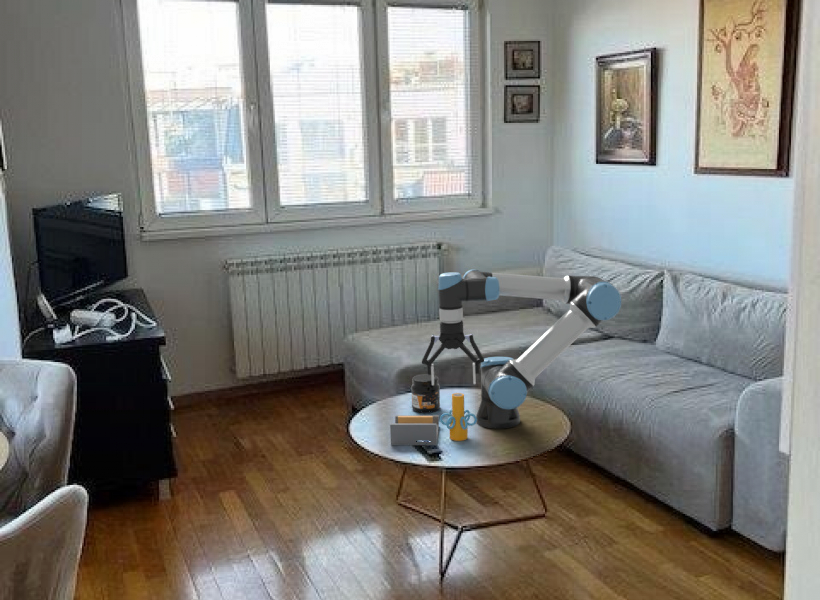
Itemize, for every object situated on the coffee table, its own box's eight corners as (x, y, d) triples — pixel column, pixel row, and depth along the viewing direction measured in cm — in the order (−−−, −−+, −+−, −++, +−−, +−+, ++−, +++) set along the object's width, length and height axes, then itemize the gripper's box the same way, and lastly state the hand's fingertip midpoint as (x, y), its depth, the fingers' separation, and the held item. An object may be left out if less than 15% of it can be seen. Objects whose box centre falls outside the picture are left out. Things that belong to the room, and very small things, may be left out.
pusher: (433, 432, 284) (432, 415, 283) (432, 434, 283) (432, 417, 282) (398, 432, 285) (398, 416, 284) (398, 434, 284) (397, 417, 283)
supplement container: (410, 413, 306) (409, 381, 303) (413, 404, 316) (412, 373, 314) (438, 413, 304) (438, 382, 302) (441, 404, 315) (441, 373, 312)
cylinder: (438, 443, 276) (437, 399, 273) (441, 432, 286) (441, 389, 283) (476, 444, 274) (475, 400, 271) (478, 433, 284) (477, 390, 281)
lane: (438, 426, 292) (438, 407, 290) (436, 445, 274) (436, 424, 273) (395, 426, 293) (395, 407, 291) (390, 445, 275) (390, 424, 274)
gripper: (489, 316, 275) (491, 379, 279) (413, 319, 277) (416, 381, 281) (490, 321, 268) (492, 385, 272) (412, 324, 270) (415, 388, 274)
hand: (453, 383), depth 277 cm, fingers open, 13 cm apart
